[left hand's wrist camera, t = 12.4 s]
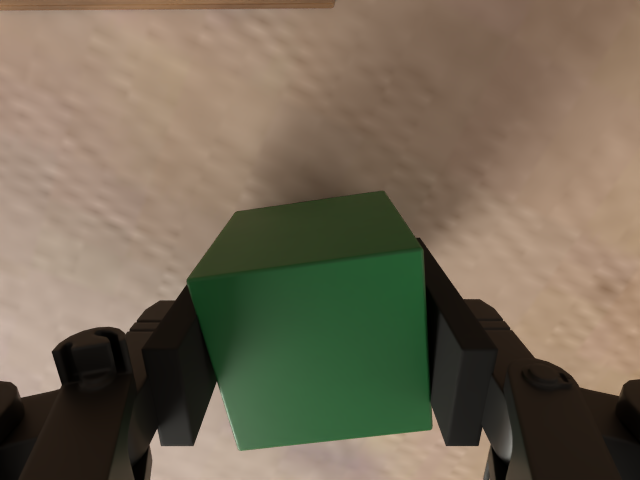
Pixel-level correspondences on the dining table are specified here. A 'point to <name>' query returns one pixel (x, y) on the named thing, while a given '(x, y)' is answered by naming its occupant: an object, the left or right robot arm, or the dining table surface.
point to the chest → (160, 4)
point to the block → (317, 322)
